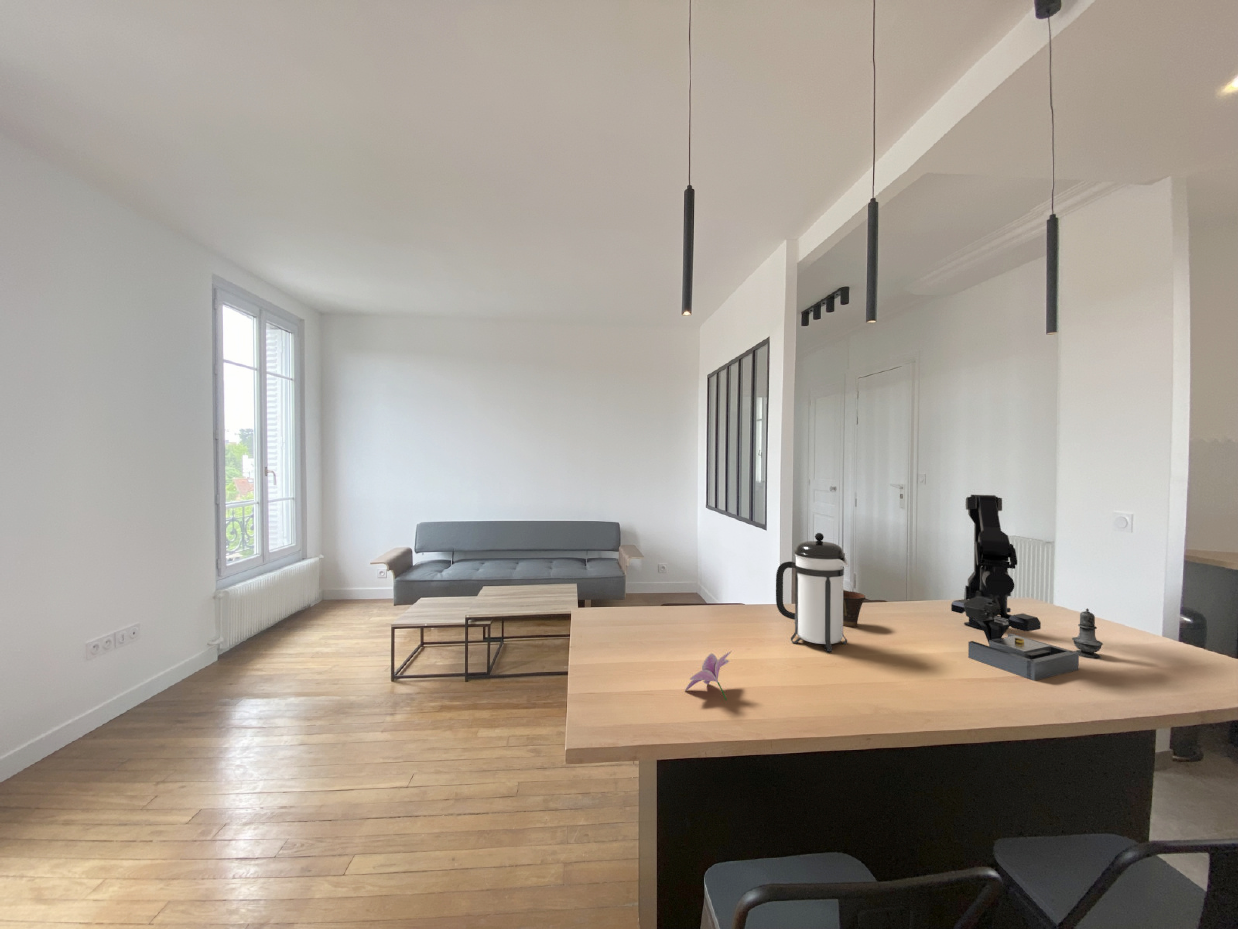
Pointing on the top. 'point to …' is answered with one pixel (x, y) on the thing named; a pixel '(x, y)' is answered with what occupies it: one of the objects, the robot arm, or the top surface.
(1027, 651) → the drawer
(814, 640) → the coffee press
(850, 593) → the cup
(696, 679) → the lily
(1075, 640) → the salt shaker
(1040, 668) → the frame
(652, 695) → the top surface
